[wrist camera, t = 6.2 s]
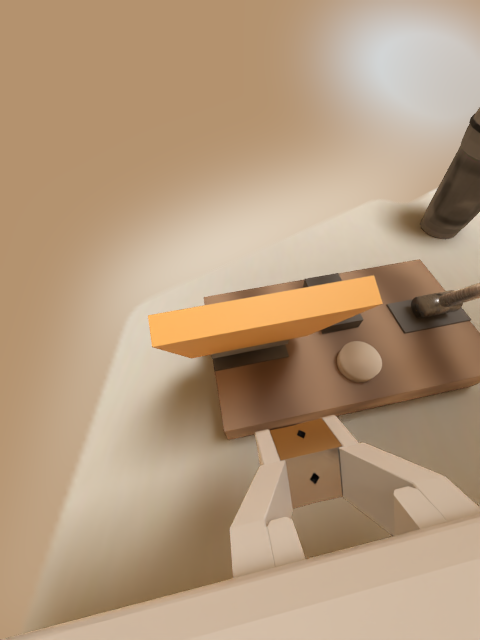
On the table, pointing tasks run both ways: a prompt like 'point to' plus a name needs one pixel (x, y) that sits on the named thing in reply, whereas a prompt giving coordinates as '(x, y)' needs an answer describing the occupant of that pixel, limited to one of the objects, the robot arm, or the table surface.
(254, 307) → the orange paddle
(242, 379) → the control panel
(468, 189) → the beverage cup
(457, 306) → the steel toggle lever
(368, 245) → the table surface
